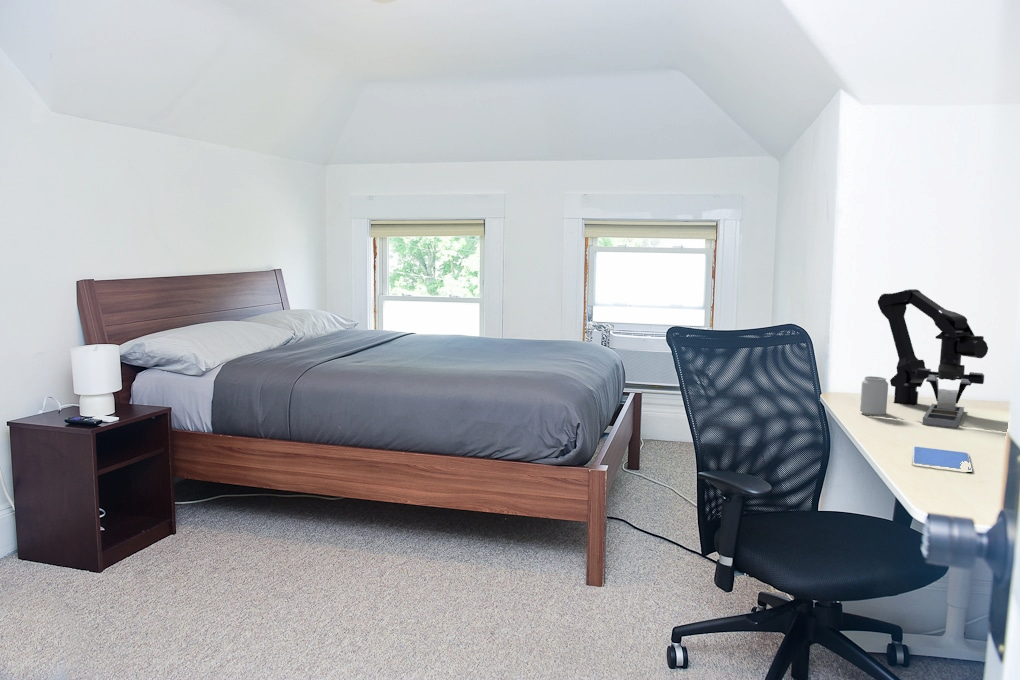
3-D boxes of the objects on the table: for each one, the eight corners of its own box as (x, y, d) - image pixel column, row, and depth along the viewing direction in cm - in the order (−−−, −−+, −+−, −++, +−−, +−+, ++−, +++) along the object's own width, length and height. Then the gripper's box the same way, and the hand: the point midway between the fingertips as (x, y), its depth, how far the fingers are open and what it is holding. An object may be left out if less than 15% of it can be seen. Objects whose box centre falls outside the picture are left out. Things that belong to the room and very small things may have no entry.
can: (880, 412, 235) (882, 375, 234) (890, 417, 228) (892, 379, 227) (856, 411, 236) (858, 375, 235) (865, 416, 229) (867, 379, 227)
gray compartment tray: (922, 424, 218) (922, 417, 218) (931, 409, 240) (932, 403, 240) (957, 428, 213) (957, 421, 213) (963, 413, 235) (964, 407, 235)
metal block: (936, 412, 233) (938, 390, 232) (938, 409, 237) (939, 388, 236) (954, 414, 230) (956, 392, 229) (956, 411, 234) (957, 390, 233)
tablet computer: (912, 450, 190) (912, 445, 190) (969, 457, 184) (969, 451, 184) (911, 468, 174) (911, 462, 174) (973, 476, 168) (973, 470, 167)
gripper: (914, 354, 230) (911, 402, 232) (984, 359, 220) (980, 410, 221) (918, 350, 239) (915, 397, 241) (986, 355, 229) (982, 404, 230)
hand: (947, 402), depth 233 cm, fingers closed on metal block, 5 cm apart
